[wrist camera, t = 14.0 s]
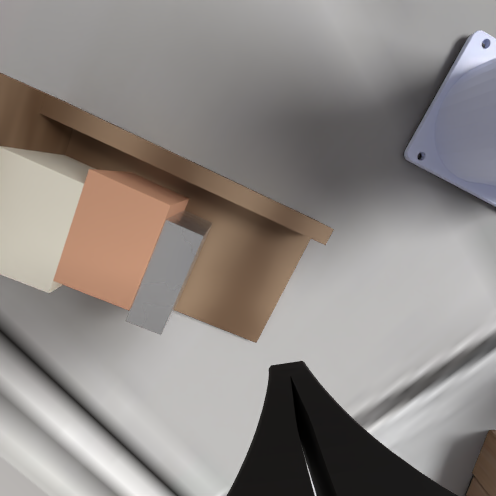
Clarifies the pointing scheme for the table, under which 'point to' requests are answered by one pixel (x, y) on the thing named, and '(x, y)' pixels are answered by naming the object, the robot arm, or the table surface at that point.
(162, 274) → the grey rectangular block
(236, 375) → the table surface
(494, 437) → the bookends
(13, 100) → the wooden shelf
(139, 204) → the salmon orange block
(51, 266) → the cream book
